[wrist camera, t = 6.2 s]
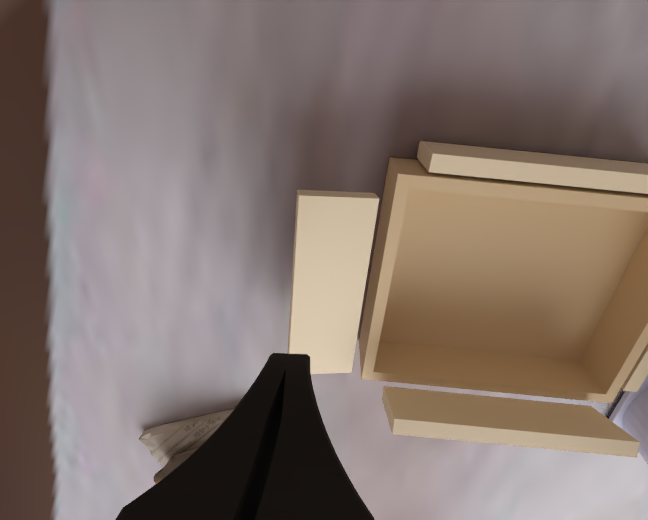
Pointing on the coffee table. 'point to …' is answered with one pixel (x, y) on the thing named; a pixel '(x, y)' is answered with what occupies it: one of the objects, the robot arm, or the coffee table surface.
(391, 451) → the coffee table surface
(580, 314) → the carton
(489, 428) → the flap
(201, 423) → the packaged product
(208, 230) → the coffee table surface
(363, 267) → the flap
